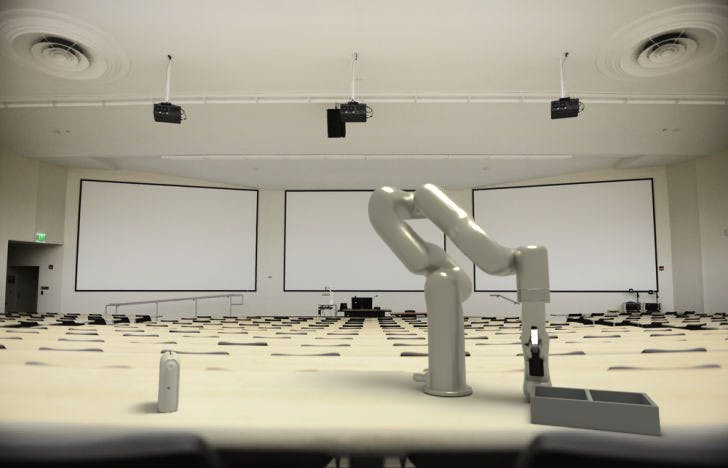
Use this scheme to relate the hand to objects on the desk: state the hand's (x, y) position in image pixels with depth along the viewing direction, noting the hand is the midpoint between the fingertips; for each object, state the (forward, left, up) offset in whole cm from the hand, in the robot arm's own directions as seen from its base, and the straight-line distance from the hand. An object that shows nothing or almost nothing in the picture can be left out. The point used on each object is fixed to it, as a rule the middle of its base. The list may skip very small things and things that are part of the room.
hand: (536, 373), depth 109 cm
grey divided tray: (+10, -13, -6) cm, 18 cm away
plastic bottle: (0, 0, -7) cm, 7 cm away
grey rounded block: (-78, -35, -7) cm, 86 cm away
